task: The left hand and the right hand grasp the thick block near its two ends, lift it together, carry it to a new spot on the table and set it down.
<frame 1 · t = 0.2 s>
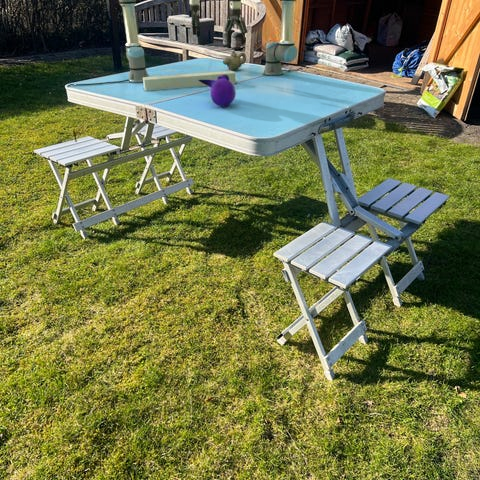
left hand: (196, 35, 349), 28 cm above the table, tool pointing down, fingers open, 13 cm apart
right hand: (236, 43, 304), 28 cm above the table, tool pointing down, fingers open, 13 cm apart
toy: (219, 104, 273), on the table
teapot: (234, 70, 372), on the table
thick block: (190, 85, 321), on the table
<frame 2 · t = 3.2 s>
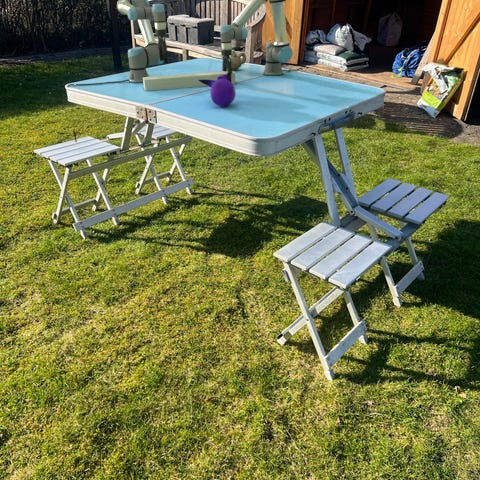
left hand: (163, 62, 320), 15 cm above the table, tool pointing down, fingers open, 13 cm apart
right hand: (227, 82, 328), 1 cm above the table, tool pointing down, fingers closed on thick block, 10 cm apart
thick block: (190, 85, 321), on the table, touching right hand
everything else where it was.
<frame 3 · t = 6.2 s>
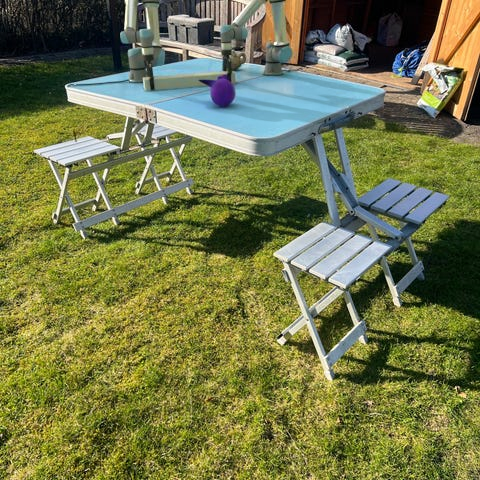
left hand: (151, 88, 314), 1 cm above the table, tool pointing down, fingers closed on thick block, 10 cm apart
right hand: (227, 82, 328), 1 cm above the table, tool pointing down, fingers closed on thick block, 10 cm apart
thick block: (190, 85, 321), on the table, touching left hand, right hand
everything else where it was.
when the left hand's fingers open (1 cm above the table, at t = 10.6 s): thick block stays where it is, on the table.
when the right hand's fingers open (1 cm above the table, at t = 10.6 s): thick block stays where it is, on the table.
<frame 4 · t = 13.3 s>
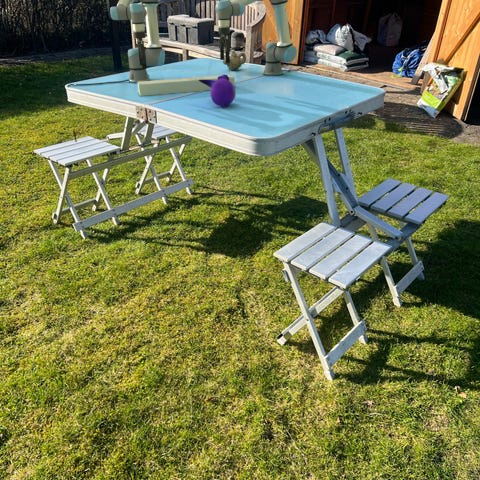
left hand: (143, 67, 292), 17 cm above the table, tool pointing down, fingers open, 13 cm apart
right hand: (225, 61, 306), 17 cm above the table, tool pointing down, fingers open, 13 cm apart
thick block: (187, 90, 308), on the table
everything else where it was.
at the end: thick block inside the target area (0.2 cm from its centre), on the table; thick block tilted 0°; thick block never tilted more than 1° during the clip; both hands held the thick block at the same time; the left hand is holding nothing; the right hand is holding nothing; thick block at rest at the end (0.0 cm/s) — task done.
